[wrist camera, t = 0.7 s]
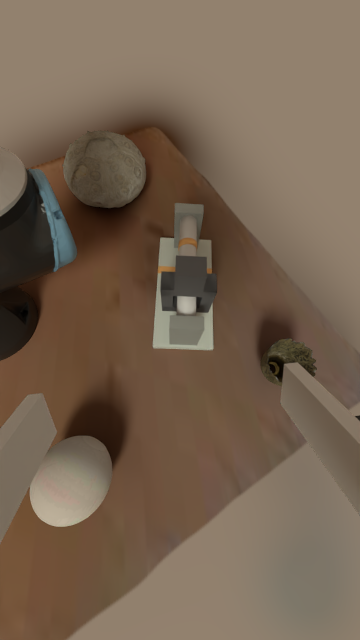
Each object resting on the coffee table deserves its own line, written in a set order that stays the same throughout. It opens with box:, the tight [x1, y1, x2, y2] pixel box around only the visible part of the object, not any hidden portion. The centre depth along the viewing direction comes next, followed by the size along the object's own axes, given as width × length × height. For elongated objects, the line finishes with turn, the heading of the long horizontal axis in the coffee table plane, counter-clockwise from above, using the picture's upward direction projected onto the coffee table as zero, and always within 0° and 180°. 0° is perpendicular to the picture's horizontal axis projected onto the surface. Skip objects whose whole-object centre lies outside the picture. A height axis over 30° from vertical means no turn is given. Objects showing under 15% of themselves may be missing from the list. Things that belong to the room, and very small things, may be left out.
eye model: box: [30, 436, 112, 527], centre depth 31 cm, size 10×10×10 cm
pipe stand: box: [153, 203, 213, 350], centre depth 42 cm, size 24×11×11 cm, turn 178°
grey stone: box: [62, 131, 146, 208], centre depth 50 cm, size 18×18×10 cm
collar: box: [160, 255, 217, 313], centre depth 35 cm, size 3×8×12 cm, turn 88°
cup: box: [261, 338, 317, 386], centre depth 38 cm, size 8×7×8 cm
